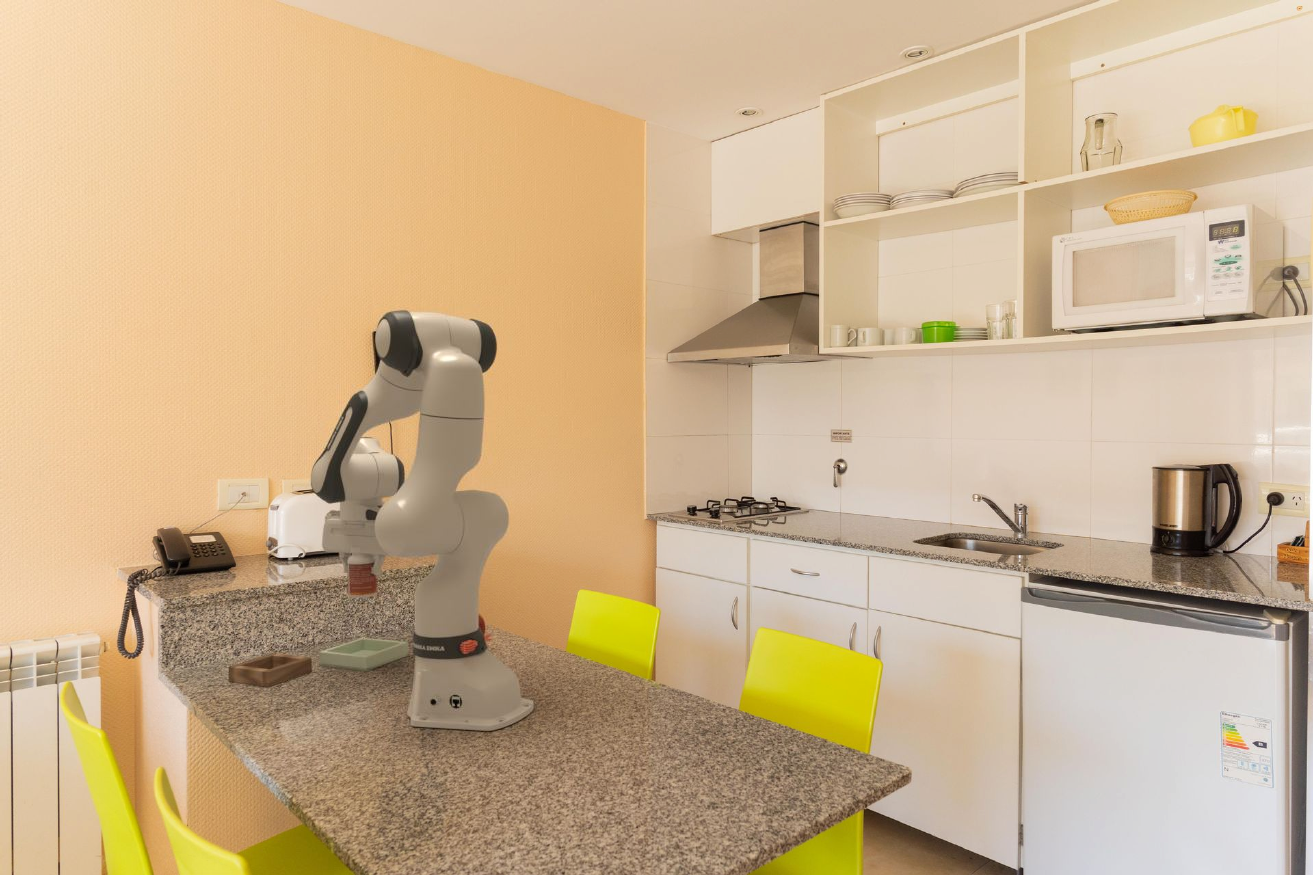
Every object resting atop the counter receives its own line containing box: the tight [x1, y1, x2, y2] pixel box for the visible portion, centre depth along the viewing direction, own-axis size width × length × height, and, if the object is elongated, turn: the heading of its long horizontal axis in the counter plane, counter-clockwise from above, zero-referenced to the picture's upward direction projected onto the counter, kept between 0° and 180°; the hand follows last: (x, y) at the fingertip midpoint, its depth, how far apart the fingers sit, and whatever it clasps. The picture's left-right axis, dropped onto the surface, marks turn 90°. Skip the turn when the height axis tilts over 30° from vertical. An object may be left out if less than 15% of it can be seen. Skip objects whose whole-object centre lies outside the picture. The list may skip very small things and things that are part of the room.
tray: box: [318, 637, 409, 672], centre depth 178 cm, size 13×13×3 cm
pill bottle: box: [347, 547, 379, 599], centre depth 178 cm, size 6×6×11 cm
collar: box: [228, 652, 313, 688], centre depth 167 cm, size 11×11×3 cm
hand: (362, 573), depth 178 cm, fingers closed on pill bottle, 6 cm apart
